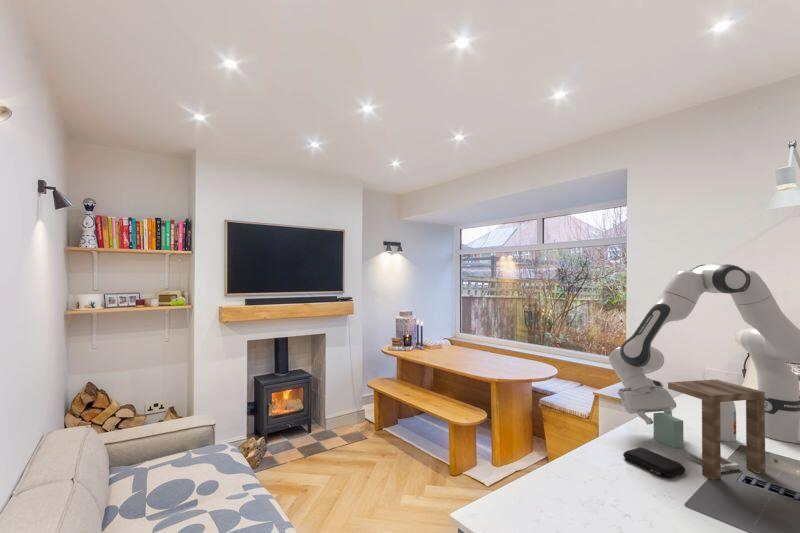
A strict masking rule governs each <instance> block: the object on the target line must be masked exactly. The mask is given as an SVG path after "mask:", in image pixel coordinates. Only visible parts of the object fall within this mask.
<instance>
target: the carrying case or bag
mask: <svg viewBox="0 0 800 533" xmlns="http://www.w3.org/2000/svg"><path fill="white" fill-rule="evenodd" d="M622 456H623V457H624V459H625V460H626V461H628V462H630V463H631V464H634V465H636V466H638V467H640V468H642V469H645V470H646V471H648V472H651V473H652V474H655V475H657V476H660V477H662V478H665V479H672V478H675V477H678V476H680V475H682V474H685V473H686V468H685V467H684V466H683V464H682V463H680V462H678V461H676V460H673V459H671V458H668V457H666V456H664V455H662V454H659V453H657V452H654V451H652V450H649V449H647V448H644V447H635V448H632V449H628V450H626V451H624V452H623V454H622Z"/></svg>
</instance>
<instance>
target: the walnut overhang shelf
mask: <svg viewBox="0 0 800 533" xmlns="http://www.w3.org/2000/svg"><path fill="white" fill-rule="evenodd" d="M667 389H668V390H671V391H673V392H677V393H681V394H683V395H687V396H689V397H693V398H696V399H699V400H701V457H700V456H698V455H695V454H693V453H692V452H691V453H688V459H689V460H692V461H693V462H696V463H697V464H699V465H701V469H702V470H701V475H702V476H704V477H706V478H708V479H710V480H712V481H715V480H721V479H722V473H723V472H725V473H726V472H731V471H730V470H732V471H737V470H738V469H739V470H740V464H739V463H737V462H734V461H733V460H731V459H727V458H725V457H724V456H721V455H722V454H721V452H722V451H721V449H722V448H721V446H722V444H721V442H722V441H721V431H720V402H728V401H733V402H737V401H745V434H746V435H745V438H746V439H745V440H746V442H745V444H746V446H745V448H746V450H745V451H746V452H745V453H746V456H745V460H746V461H745V462H746V468H747V470H748V469H750V470H749V471H751V470H753V471H755V472H765V473H766V436H765V392H763V391H759V390H758V389H754V388H751V387H746V386H743V385H739V384H736V383H732V382H729V381H724V380H720V379H702V380H688V381H685V380H684V381H669V382H667ZM739 470H738V471H739ZM753 471H752V472H753ZM755 472H754V473H755Z"/></svg>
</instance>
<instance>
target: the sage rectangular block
mask: <svg viewBox="0 0 800 533" xmlns="http://www.w3.org/2000/svg"><path fill="white" fill-rule="evenodd" d="M652 413H653V415H652V416H653V419H652V421H653V439H654V440H656V441H658V442H661V443H663V444H665V445H667V446H669V447H671V448H673V449H677V448H678V449H679V448H684V420H683V419H680V418H678V417H675V416H673V415H672V416H670V415H668V414H665V413H664V411H661V412H652Z"/></svg>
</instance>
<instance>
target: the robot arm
mask: <svg viewBox="0 0 800 533" xmlns="http://www.w3.org/2000/svg"><path fill="white" fill-rule="evenodd" d="M704 293H711V294H727V295H728V294H729V295H730V296H731V298H732V301H733V302H734V305H735V306H736V308H737V311H738V312H739V314H740V316H741V318H742V320H743V321H744V322H745V323H746V324H747V325H749V326H751V328H747V329H746V330H744V331H743V332H741V335H740V338H739V340H740V341H739V342H740V345H741V346H742V347H743V349H745V351H746V352H747V353H748V354H749V356H750V358H751V360H752V362H753V364H754V367H755V368H754V369H755V370H756V371H755V372H756V379H757V390H759V391H763V392H765V438H766V437H767V438H770V439H773V440H776V441H782V442H788V443H794V444H800V380H799V377H798V376H797V375H796V374H795V373H794V372H793V371H792V370H791V368H790V367H789V365H788V363H791V364H800V328H798V327H797V325H795V324H794V323H793V322H792V321H791V320H790V319H789V318H788V317H787V316H786V315H785V313H784V312H783V311H782V310H781V308H780V306H779V305H778V303H777V301H776V299H775V297H774V295H773V293H772V292H771V290H770V288H769V286H767V284H766V282H765V281H764V279H762V277H761V276H760V275H759V274H758V273H757V272H755V271H754V270H750V269H743V268H741V267H740V266H737V265H735V264H729V263H728V264H725V263H724V264H723V263H712V264H710V263H709V264H700V265H697V266H694V267H692V268H691V269H690V270H687V269H686V270H681V271H677V272H676V273H675V274H674V276H672V277H671V279H670V281H669V282H668V283H667V284H666V286H665V288H664V289H663V291H662V293H661V295H660V297H659V298H658V300H657V301H656V303H655V304H654V305H653V306H652V307H651V308H650V309H649V311H648V312H647V313H646V315H645V316H644V318H643V320H642V321H641V322H640V324H639V325H638V327H637V328H636V330H635V331H634V333H633V334H632V335H631V336H630V337H629V338H628V339H626V340H625V341H624V342H623V343H622V344H621V347H616V348H615V349H614V350H612V351H611V352H610V353H609V356H608V360H609V363H610V365H611V368H612V369H613V371H614V373H615V374H616V377H618V378H619V379H620V381H621V385H622V386H623V387H624V388H619V389H618V391H617V394H618V396H619V398H620V400H621V403H622V405H623V407H624V409H625V412H627V414H628V413H629V414H630V415H633V414H637V415H638V416H639V418H640V419H642V420H643V421H644V422H645V423H646V425H652V424H654V421H653V419H652V417H649V416H648V415H646V414H647V413H661V412H663V413H665V414H668V415H670V416H673V410H675V409H676V408H677V402H676V400H675V399H674V398H673V396H672V395H671V394H670V391H668V390H667V389H666V388H664V384H663V383H662V382H661V381H659V380H655V379H651V378H649V377H647V376H646V375H647V374H650V373H653V372H656V371H659V370H660V369H661V368H662V367H663V365H664V364H665V357H664V354H663V352H662V351H660V350H659V349H657V348H656V347H654V346H652V343H653V341H654V340H655V338H656V337H657V336H658V334H659V332H660V330H661V329H662V328H663V327H664V326H665V325H666V324H668V323H671V322H678V321H682V320H686V318H688V317H689V316H690V315H691V313H692V312H693V310H694V308H695V307H696V305H697V303H698V301H699V299H700V297H701V295H702V294H704Z"/></svg>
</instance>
